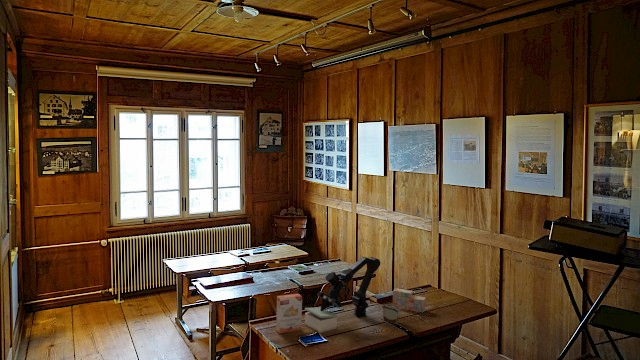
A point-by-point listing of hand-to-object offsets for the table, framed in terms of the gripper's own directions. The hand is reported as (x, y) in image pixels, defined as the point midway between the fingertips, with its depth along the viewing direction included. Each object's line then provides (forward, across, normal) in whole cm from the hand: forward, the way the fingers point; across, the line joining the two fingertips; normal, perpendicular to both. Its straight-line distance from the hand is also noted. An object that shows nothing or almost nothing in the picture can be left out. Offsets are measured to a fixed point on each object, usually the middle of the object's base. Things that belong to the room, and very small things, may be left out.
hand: (321, 310), depth 275 cm
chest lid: (+1, 0, -1) cm, 1 cm away
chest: (+7, 0, -6) cm, 9 cm away
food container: (-23, -19, -37) cm, 47 cm away
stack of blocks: (-41, -9, -55) cm, 69 cm away
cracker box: (+21, +5, +7) cm, 23 cm away
